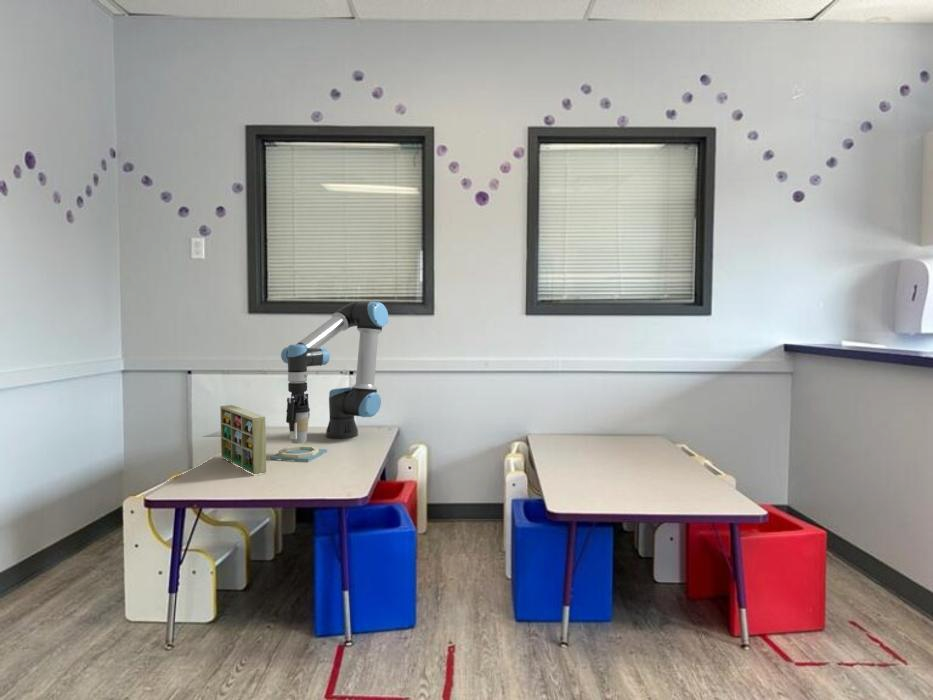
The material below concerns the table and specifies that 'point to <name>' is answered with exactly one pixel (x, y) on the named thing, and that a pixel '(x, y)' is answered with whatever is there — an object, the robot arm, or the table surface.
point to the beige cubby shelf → (243, 438)
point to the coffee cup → (301, 423)
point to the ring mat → (299, 453)
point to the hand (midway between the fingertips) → (298, 436)
